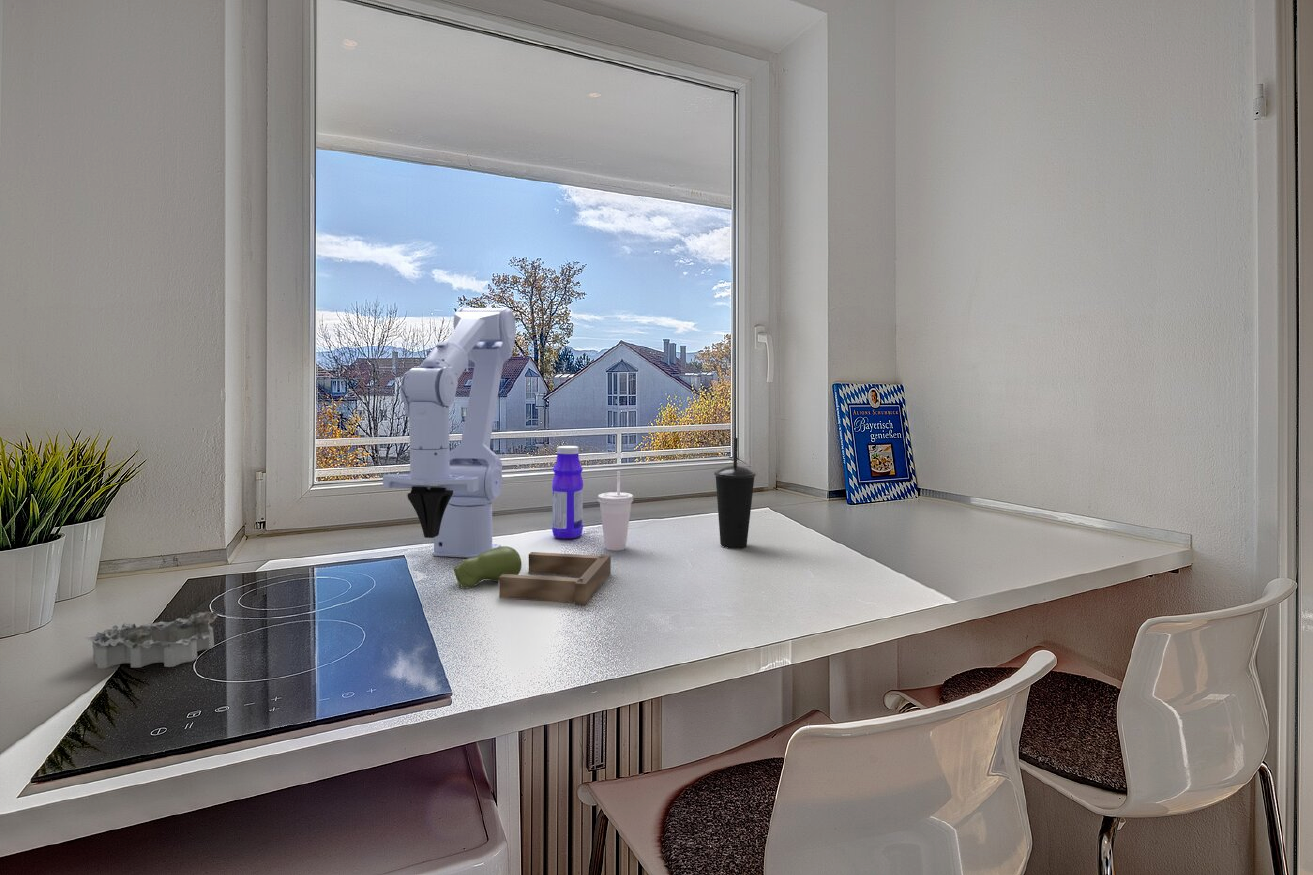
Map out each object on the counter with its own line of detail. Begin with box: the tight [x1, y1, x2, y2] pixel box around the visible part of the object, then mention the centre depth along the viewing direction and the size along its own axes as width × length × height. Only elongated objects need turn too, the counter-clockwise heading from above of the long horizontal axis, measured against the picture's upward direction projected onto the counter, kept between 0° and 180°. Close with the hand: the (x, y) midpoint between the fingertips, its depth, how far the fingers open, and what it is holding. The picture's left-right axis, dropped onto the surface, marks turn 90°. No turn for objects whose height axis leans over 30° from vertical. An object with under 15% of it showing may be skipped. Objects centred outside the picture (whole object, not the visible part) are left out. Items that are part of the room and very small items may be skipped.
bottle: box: [551, 445, 584, 540], centre depth 132 cm, size 7×6×17 cm
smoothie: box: [597, 470, 634, 552], centre depth 123 cm, size 6×6×14 cm
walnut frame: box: [498, 551, 612, 606], centre depth 102 cm, size 13×15×3 cm
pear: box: [452, 545, 523, 589], centre depth 103 cm, size 6×5×10 cm
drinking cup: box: [713, 437, 757, 549], centre depth 125 cm, size 8×8×20 cm
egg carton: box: [84, 611, 218, 669], centre depth 76 cm, size 11×8×4 cm
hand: (431, 536), depth 104 cm, fingers closed
